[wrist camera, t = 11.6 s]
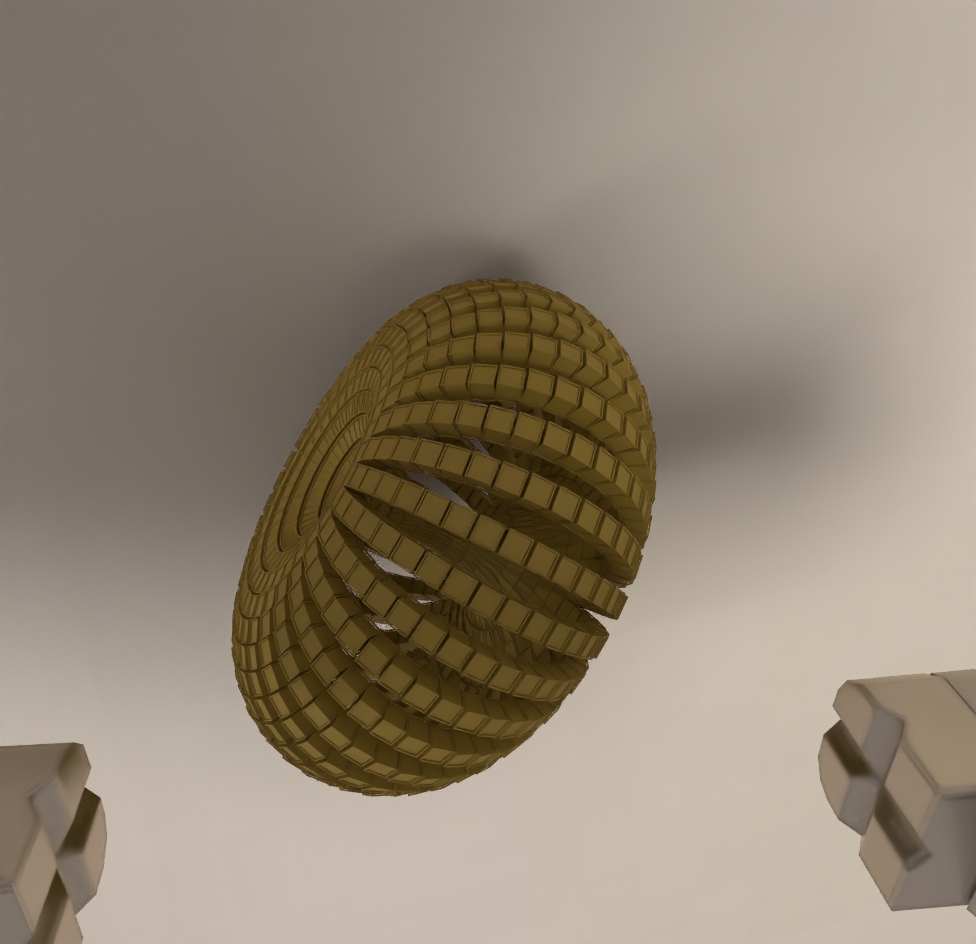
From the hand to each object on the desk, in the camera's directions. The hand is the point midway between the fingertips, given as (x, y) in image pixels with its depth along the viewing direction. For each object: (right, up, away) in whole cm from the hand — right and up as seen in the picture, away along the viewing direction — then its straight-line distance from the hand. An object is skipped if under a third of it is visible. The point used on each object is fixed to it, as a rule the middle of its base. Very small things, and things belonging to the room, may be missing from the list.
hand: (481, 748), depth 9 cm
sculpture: (-1, +4, +7) cm, 9 cm away
